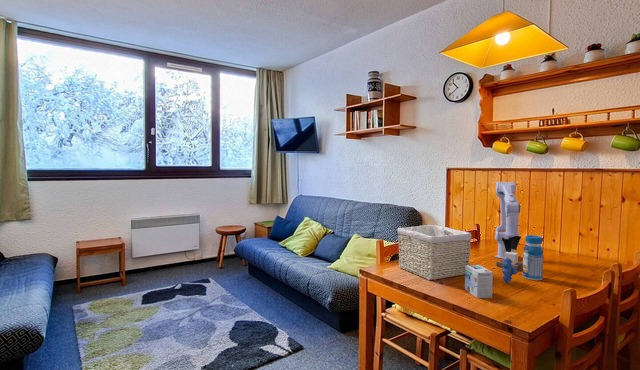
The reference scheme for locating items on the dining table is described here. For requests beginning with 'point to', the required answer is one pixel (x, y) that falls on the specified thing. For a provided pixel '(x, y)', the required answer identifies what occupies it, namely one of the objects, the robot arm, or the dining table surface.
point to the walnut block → (517, 266)
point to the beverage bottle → (533, 258)
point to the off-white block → (511, 257)
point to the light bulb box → (478, 281)
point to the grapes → (508, 270)
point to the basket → (434, 251)
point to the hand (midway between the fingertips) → (511, 250)
